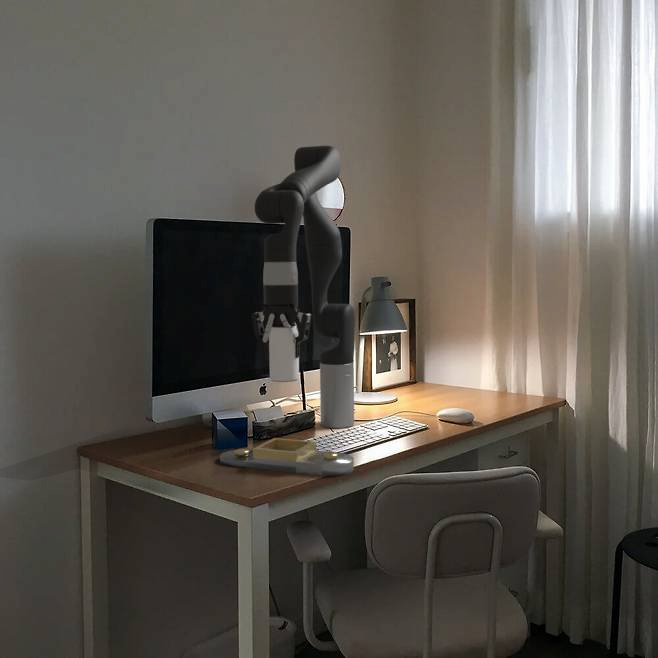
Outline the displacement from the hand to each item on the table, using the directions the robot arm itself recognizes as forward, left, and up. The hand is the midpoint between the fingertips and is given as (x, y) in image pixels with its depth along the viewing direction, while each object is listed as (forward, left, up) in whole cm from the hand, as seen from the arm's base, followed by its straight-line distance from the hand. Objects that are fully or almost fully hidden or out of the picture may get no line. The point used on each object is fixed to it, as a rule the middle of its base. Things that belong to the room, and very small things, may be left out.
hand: (281, 359), depth 170 cm
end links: (0, 0, -24) cm, 24 cm away
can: (0, 0, -5) cm, 5 cm away
